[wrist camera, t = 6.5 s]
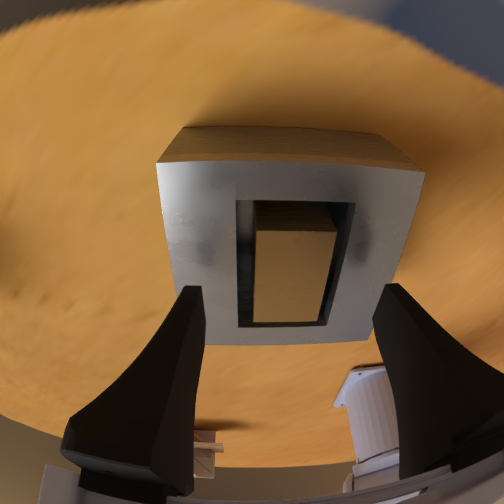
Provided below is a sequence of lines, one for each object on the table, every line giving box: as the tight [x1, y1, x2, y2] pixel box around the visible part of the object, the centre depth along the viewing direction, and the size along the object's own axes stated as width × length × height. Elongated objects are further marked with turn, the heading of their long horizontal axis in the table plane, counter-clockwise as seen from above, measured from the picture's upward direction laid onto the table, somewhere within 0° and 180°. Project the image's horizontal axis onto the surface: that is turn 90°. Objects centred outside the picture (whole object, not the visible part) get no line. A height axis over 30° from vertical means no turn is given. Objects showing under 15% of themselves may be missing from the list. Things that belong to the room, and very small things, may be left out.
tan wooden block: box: [252, 200, 337, 322], centre depth 15 cm, size 3×5×5 cm, turn 179°
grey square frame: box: [156, 126, 426, 345], centre depth 15 cm, size 10×10×5 cm
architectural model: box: [194, 430, 224, 478], centre depth 33 cm, size 3×7×7 cm, turn 90°
